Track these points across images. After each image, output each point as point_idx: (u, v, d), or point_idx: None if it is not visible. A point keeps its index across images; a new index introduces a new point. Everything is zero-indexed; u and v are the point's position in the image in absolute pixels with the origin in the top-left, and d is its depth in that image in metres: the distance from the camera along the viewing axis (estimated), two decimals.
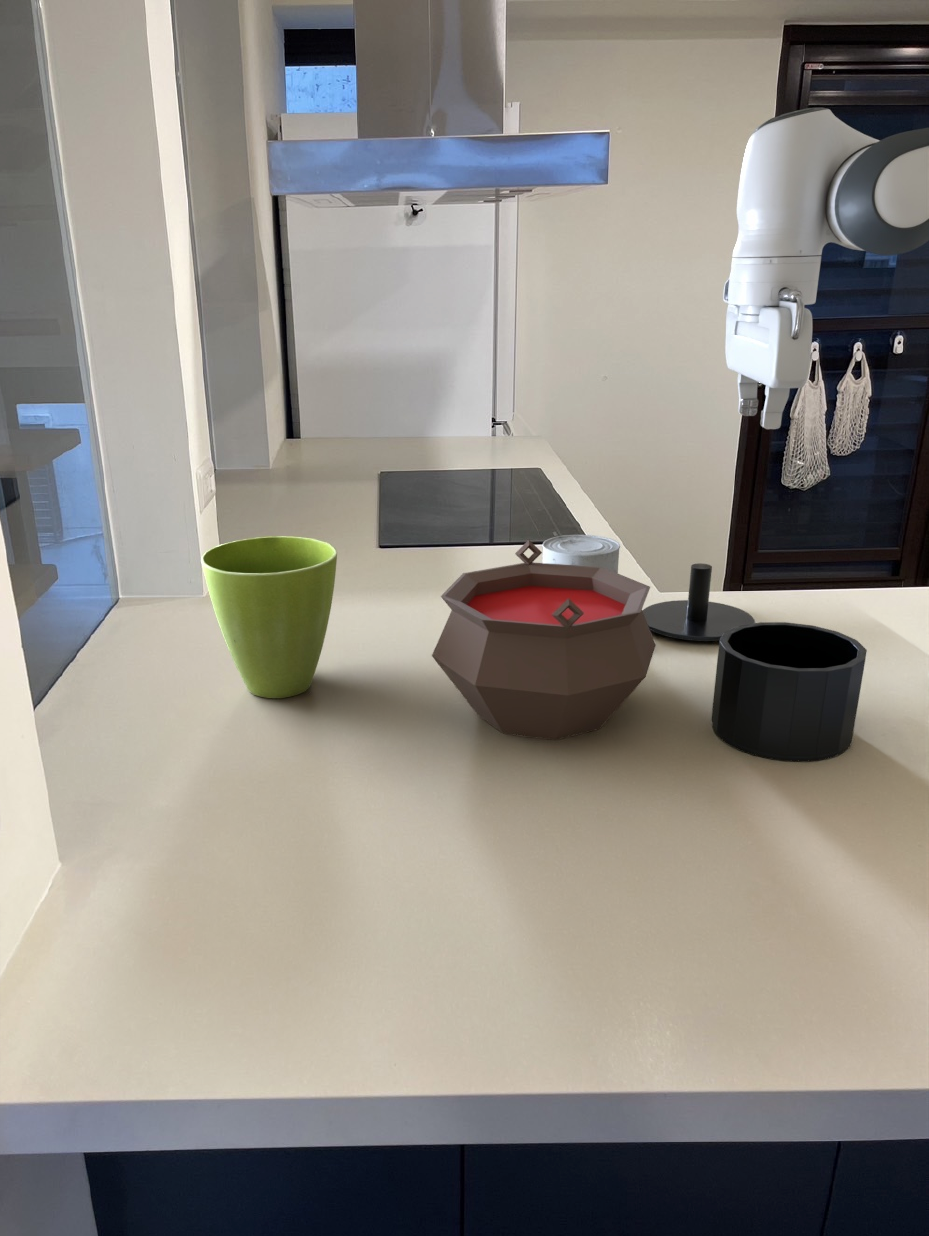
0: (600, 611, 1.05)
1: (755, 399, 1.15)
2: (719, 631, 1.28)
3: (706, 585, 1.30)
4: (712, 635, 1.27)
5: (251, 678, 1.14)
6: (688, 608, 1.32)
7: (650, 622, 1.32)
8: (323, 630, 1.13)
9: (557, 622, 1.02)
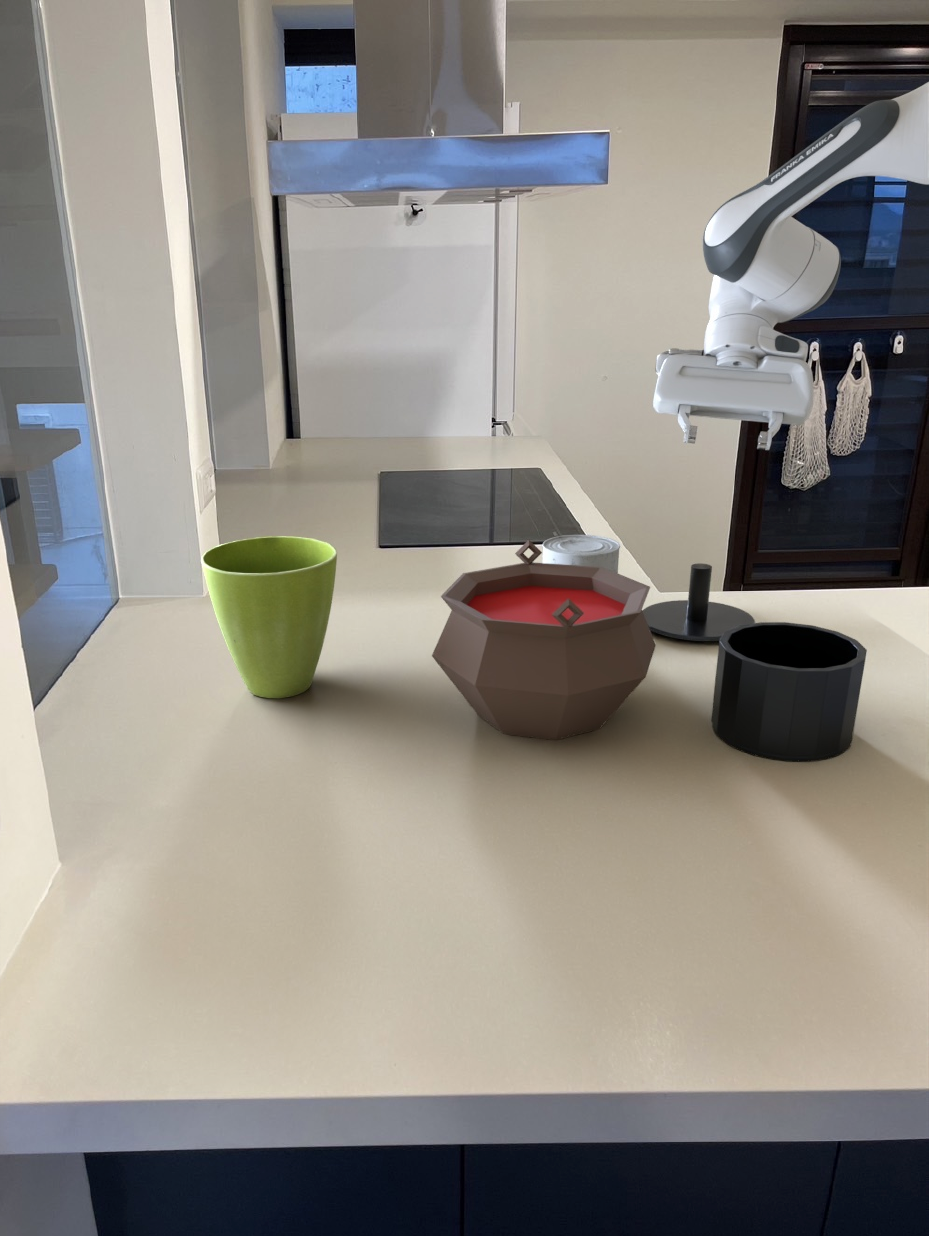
0: (600, 611, 1.05)
1: None
2: (719, 631, 1.28)
3: (706, 585, 1.30)
4: (712, 635, 1.27)
5: (251, 678, 1.14)
6: (688, 608, 1.32)
7: (650, 622, 1.32)
8: (323, 630, 1.13)
9: (557, 622, 1.02)
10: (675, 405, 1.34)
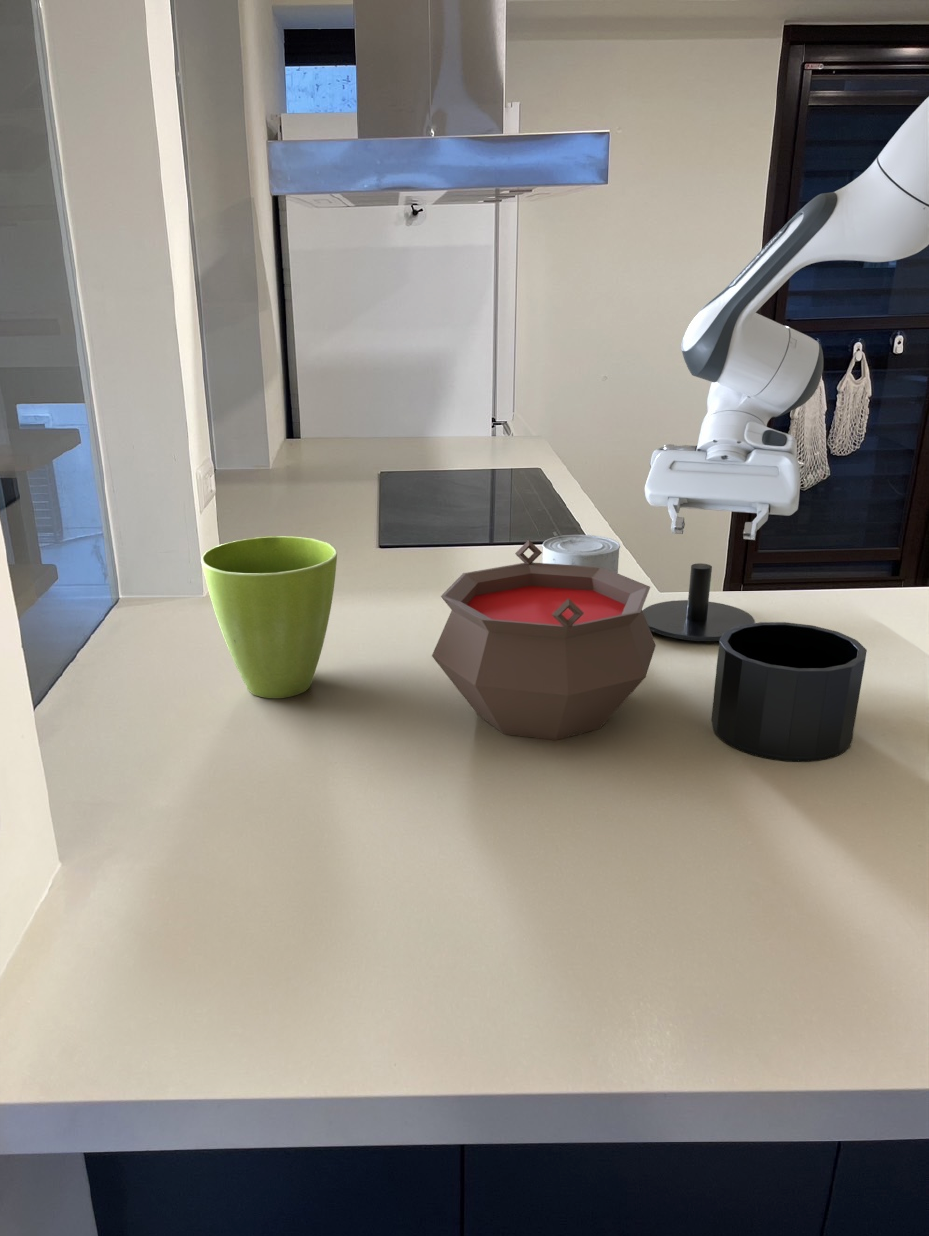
0: (600, 611, 1.05)
1: None
2: (719, 631, 1.28)
3: (706, 585, 1.30)
4: (712, 635, 1.27)
5: (251, 678, 1.14)
6: (688, 608, 1.32)
7: (650, 622, 1.32)
8: (323, 630, 1.13)
9: (557, 622, 1.02)
10: (665, 498, 1.39)
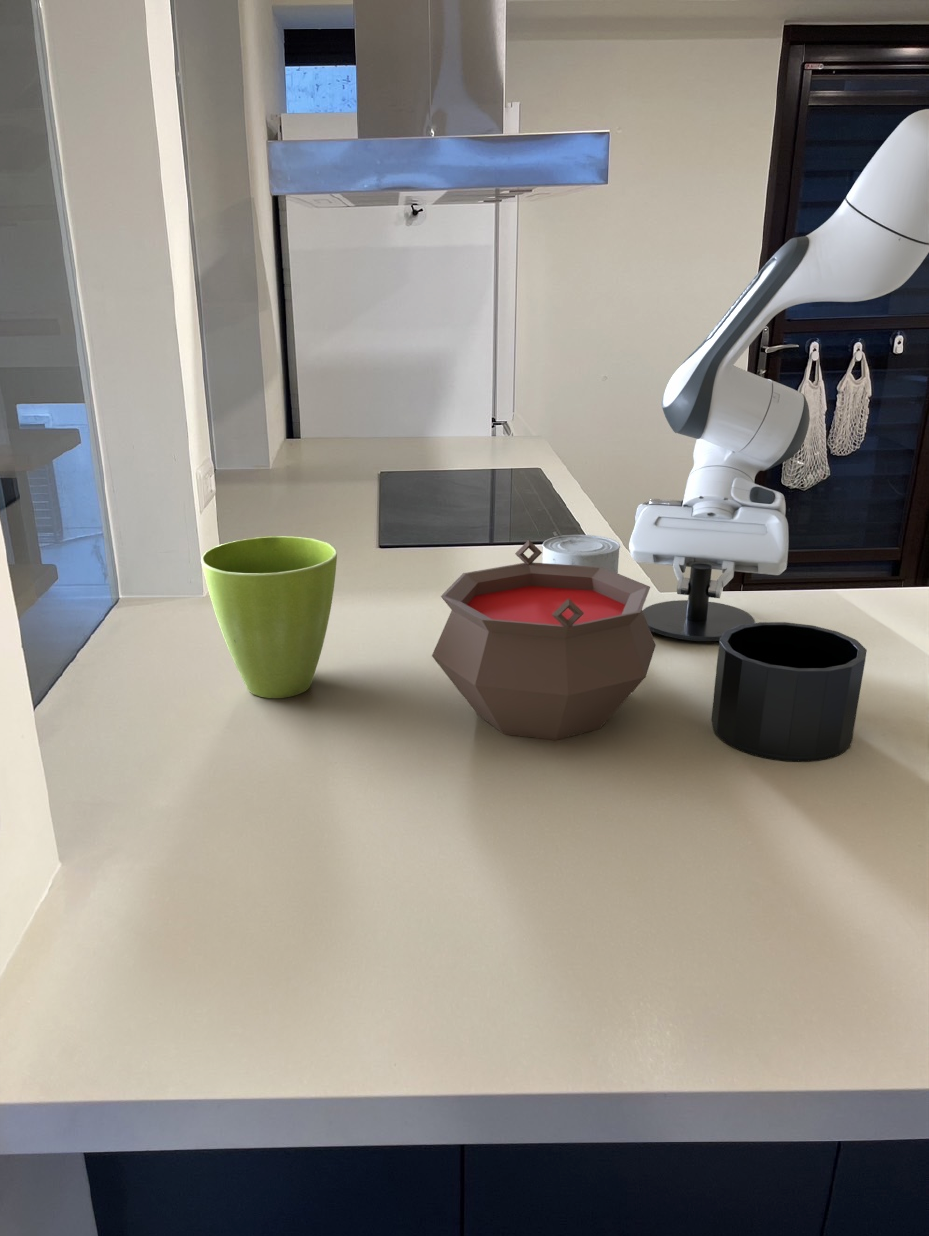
0: (600, 611, 1.05)
1: None
2: (719, 631, 1.28)
3: (706, 585, 1.30)
4: (712, 635, 1.27)
5: (251, 678, 1.14)
6: (688, 608, 1.32)
7: (650, 622, 1.32)
8: (323, 630, 1.13)
9: (557, 622, 1.02)
10: (649, 555, 1.35)
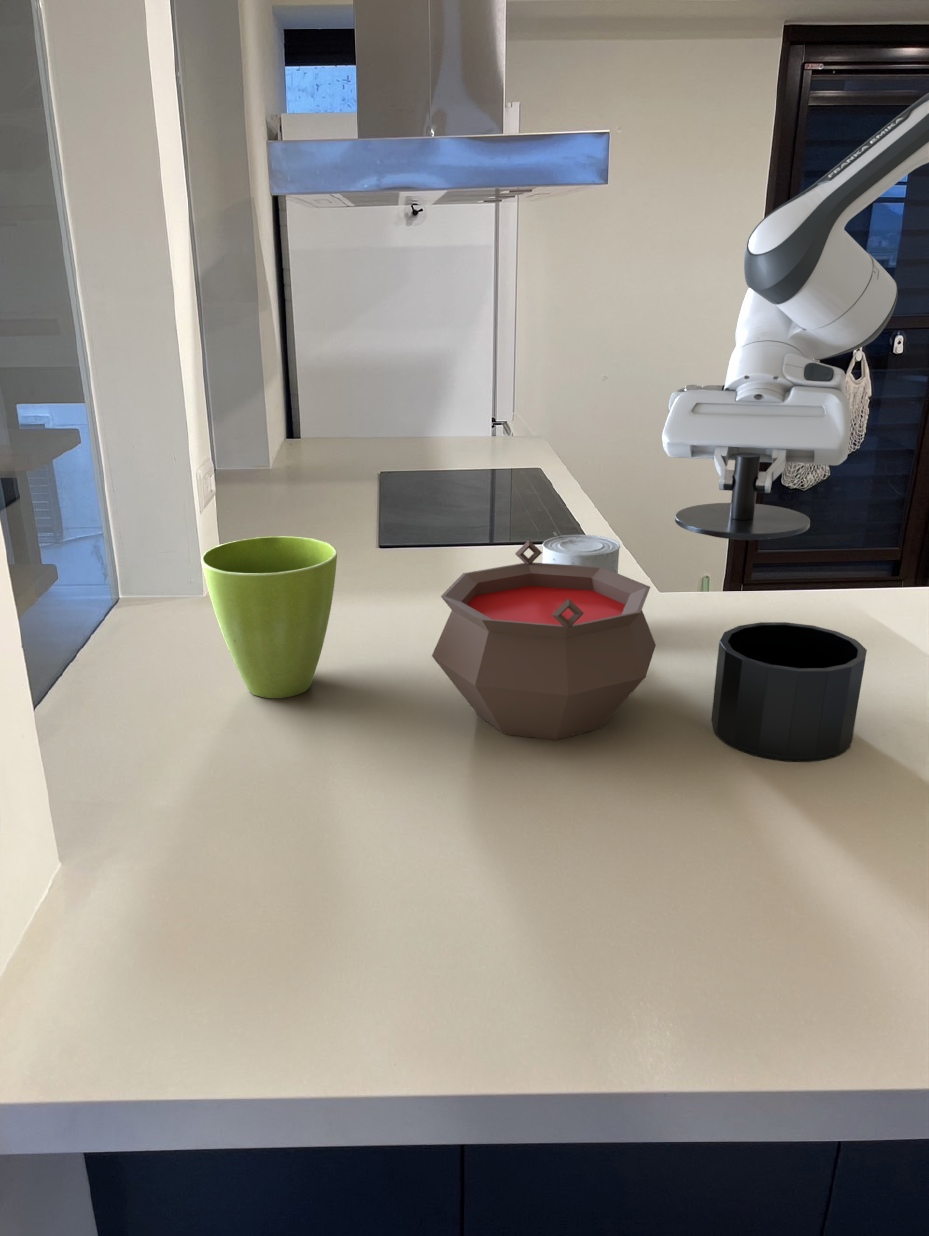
0: (600, 611, 1.05)
1: None
2: (770, 528, 1.09)
3: (753, 477, 1.12)
4: (762, 532, 1.08)
5: (251, 678, 1.14)
6: (732, 506, 1.14)
7: (688, 521, 1.13)
8: (323, 630, 1.13)
9: (557, 622, 1.02)
10: (686, 447, 1.16)
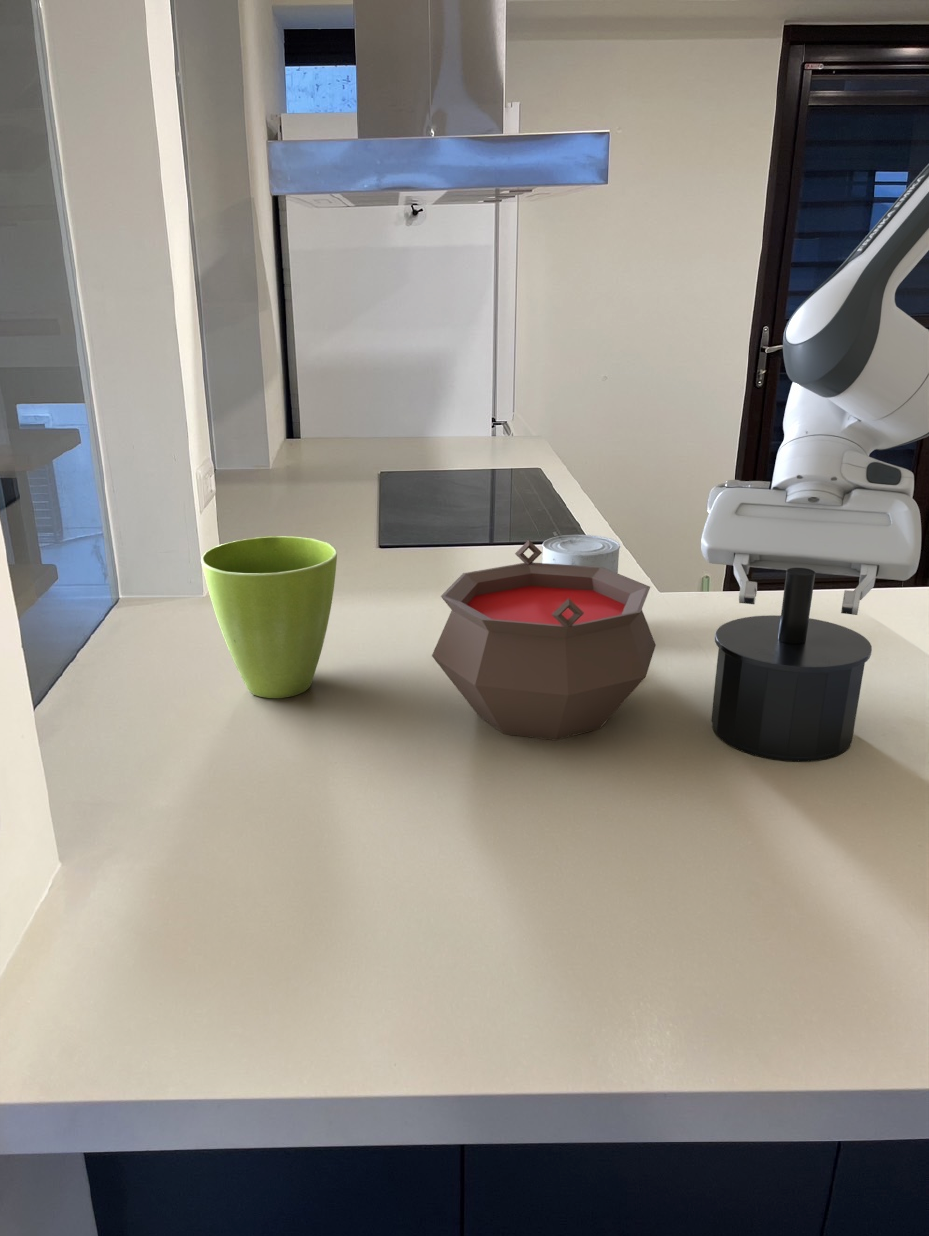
0: (600, 611, 1.05)
1: None
2: (827, 659, 0.95)
3: (807, 597, 0.97)
4: (819, 665, 0.94)
5: (251, 678, 1.14)
6: (781, 627, 0.99)
7: (731, 645, 0.99)
8: (323, 630, 1.13)
9: (557, 622, 1.02)
10: (729, 554, 1.02)
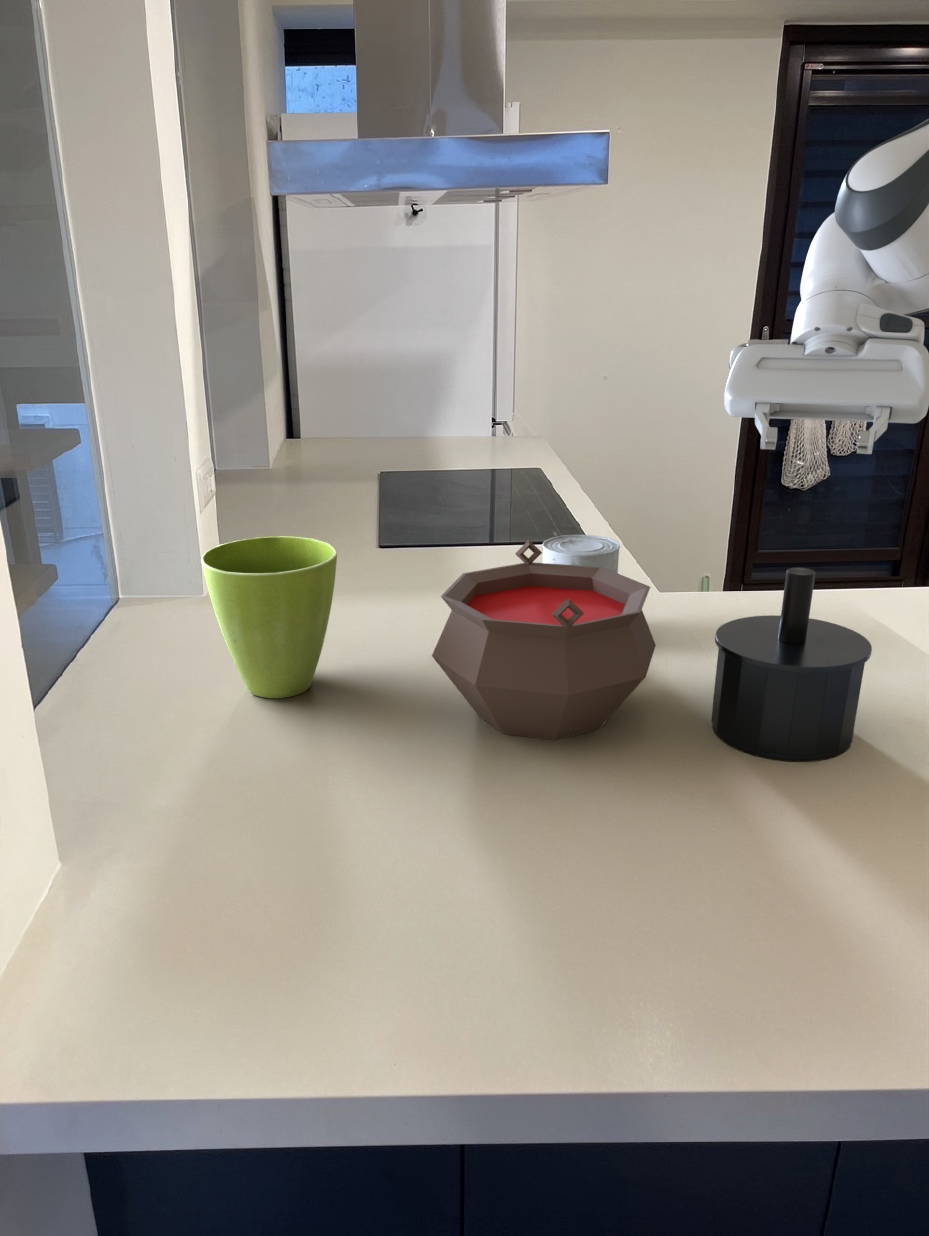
0: (600, 611, 1.05)
1: None
2: (827, 659, 0.95)
3: (807, 597, 0.97)
4: (819, 665, 0.94)
5: (251, 678, 1.14)
6: (781, 627, 0.99)
7: (731, 645, 0.99)
8: (323, 630, 1.13)
9: (557, 622, 1.02)
10: (751, 405, 1.08)
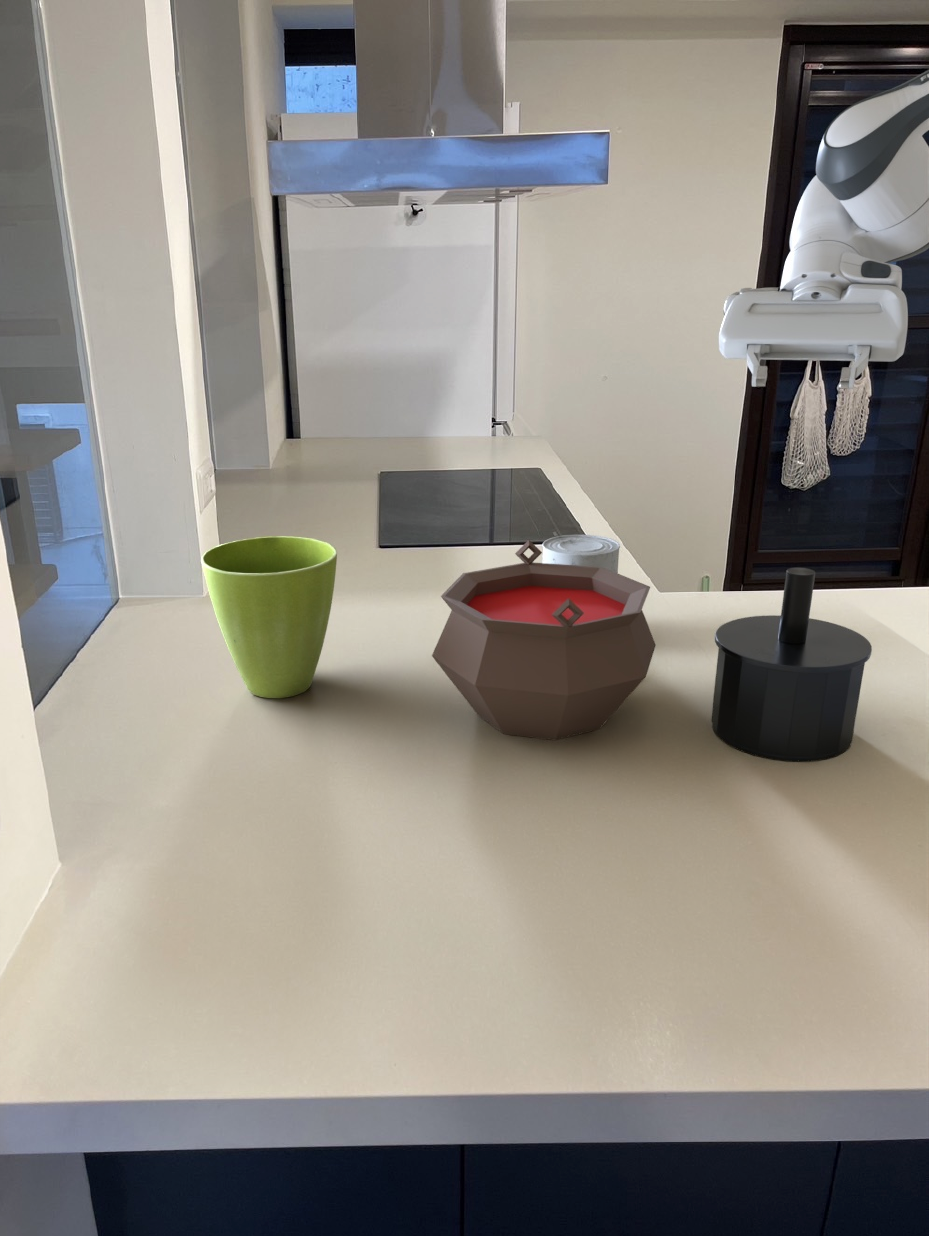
0: (600, 611, 1.05)
1: None
2: (827, 659, 0.95)
3: (807, 597, 0.97)
4: (819, 665, 0.94)
5: (251, 678, 1.14)
6: (781, 627, 0.99)
7: (731, 645, 0.99)
8: (323, 630, 1.13)
9: (557, 622, 1.02)
10: (743, 346, 1.18)
